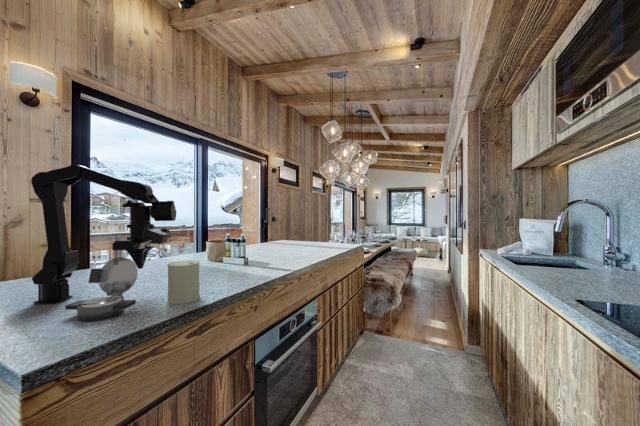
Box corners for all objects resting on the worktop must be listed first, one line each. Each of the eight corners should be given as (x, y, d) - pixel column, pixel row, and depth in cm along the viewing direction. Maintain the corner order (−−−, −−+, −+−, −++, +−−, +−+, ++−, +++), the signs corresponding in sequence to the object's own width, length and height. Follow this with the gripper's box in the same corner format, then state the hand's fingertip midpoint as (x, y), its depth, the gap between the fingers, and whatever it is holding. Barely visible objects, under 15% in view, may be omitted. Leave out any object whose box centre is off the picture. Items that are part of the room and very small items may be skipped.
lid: (93, 257, 83) (96, 257, 84) (85, 296, 80) (89, 295, 81) (138, 257, 83) (141, 257, 84) (132, 295, 80) (135, 295, 81)
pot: (55, 322, 70) (55, 308, 70) (91, 307, 82) (91, 295, 82) (118, 321, 71) (118, 307, 71) (144, 306, 82) (144, 294, 82)
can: (187, 305, 84) (187, 264, 83) (160, 303, 85) (160, 263, 85) (205, 296, 93) (205, 259, 93) (181, 294, 94) (181, 258, 94)
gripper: (149, 222, 84) (149, 274, 84) (178, 220, 102) (178, 263, 102) (110, 222, 83) (111, 274, 83) (147, 220, 102) (147, 263, 102)
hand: (140, 268), depth 93 cm, fingers closed
